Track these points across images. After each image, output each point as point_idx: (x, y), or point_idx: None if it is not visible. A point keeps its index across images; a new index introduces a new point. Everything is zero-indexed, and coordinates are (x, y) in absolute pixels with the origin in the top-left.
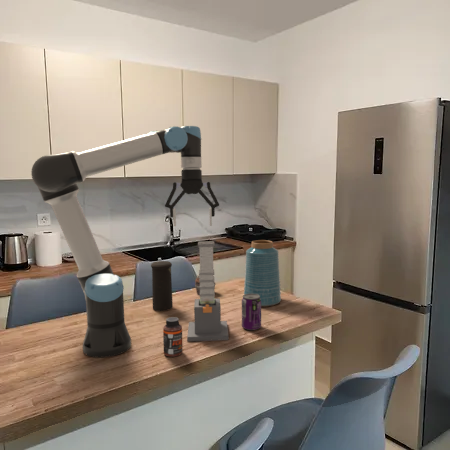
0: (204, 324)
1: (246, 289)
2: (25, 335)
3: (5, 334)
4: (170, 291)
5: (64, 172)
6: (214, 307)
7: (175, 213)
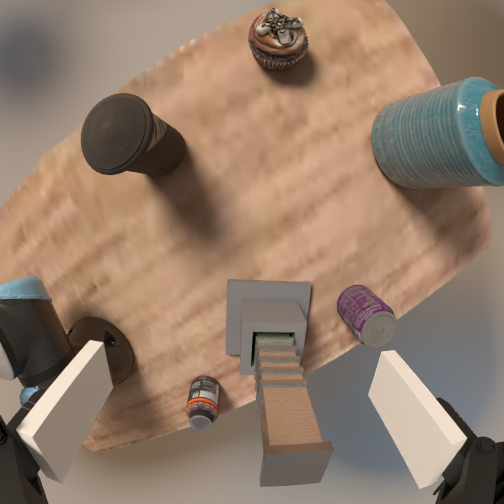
0: None
1: (390, 150)
2: None
3: None
4: (170, 154)
5: None
6: None
7: (63, 420)
